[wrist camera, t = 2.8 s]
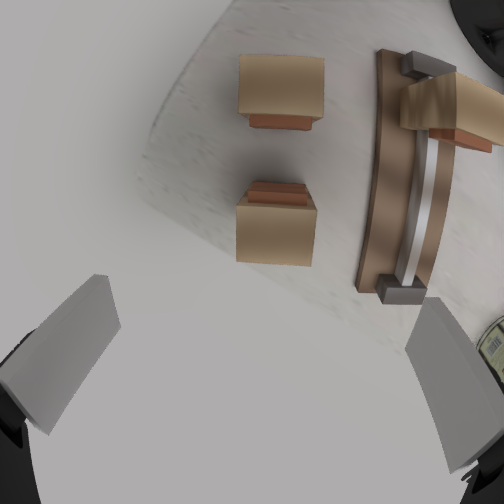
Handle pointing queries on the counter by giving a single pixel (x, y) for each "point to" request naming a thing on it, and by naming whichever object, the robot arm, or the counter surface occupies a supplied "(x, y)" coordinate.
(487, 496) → the robot arm
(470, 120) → the block
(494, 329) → the coffee can
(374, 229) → the rail board
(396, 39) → the counter surface
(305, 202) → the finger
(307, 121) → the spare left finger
